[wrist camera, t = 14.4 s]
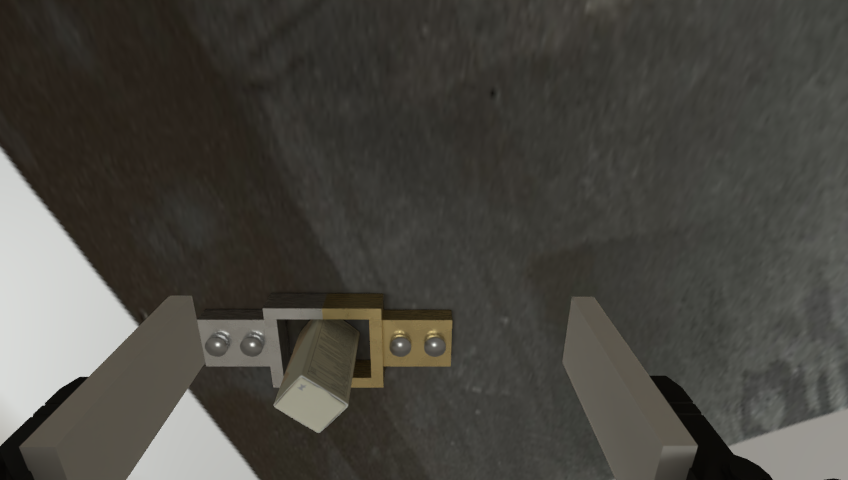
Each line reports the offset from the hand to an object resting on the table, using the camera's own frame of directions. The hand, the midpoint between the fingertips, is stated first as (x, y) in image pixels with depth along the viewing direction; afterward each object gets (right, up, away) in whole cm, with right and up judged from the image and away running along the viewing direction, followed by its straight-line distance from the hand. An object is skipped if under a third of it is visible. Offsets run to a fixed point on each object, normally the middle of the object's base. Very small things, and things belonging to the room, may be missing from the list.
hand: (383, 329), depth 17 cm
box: (-8, -7, +34) cm, 35 cm away
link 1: (-15, -7, +34) cm, 37 cm away
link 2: (-2, -7, +34) cm, 34 cm away
